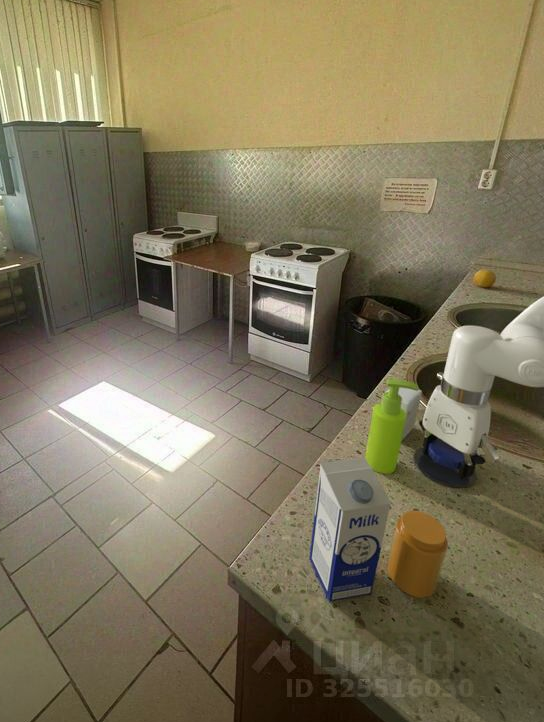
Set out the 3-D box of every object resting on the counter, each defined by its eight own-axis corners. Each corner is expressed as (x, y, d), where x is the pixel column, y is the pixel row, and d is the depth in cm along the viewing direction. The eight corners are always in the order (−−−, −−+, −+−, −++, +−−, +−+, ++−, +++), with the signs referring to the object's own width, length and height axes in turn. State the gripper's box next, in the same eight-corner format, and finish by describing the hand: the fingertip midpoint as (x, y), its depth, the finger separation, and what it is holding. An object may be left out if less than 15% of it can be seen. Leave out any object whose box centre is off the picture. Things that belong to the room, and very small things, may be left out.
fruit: (475, 282, 190) (479, 266, 187) (495, 286, 184) (500, 270, 181) (469, 287, 185) (473, 270, 182) (489, 290, 179) (494, 274, 176)
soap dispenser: (403, 477, 79) (421, 393, 72) (366, 470, 81) (380, 387, 74) (398, 457, 84) (415, 376, 77) (363, 450, 87) (377, 371, 79)
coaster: (457, 450, 86) (458, 447, 86) (488, 490, 76) (489, 487, 76) (404, 447, 87) (405, 445, 87) (427, 486, 77) (428, 484, 77)
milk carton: (348, 551, 65) (365, 455, 58) (372, 593, 59) (394, 491, 52) (308, 558, 64) (319, 461, 57) (328, 601, 58) (343, 499, 51)
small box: (390, 417, 97) (397, 380, 93) (414, 428, 93) (423, 390, 89) (375, 431, 92) (381, 393, 89) (399, 443, 88) (408, 404, 85)
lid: (437, 468, 78) (439, 461, 77) (421, 444, 84) (423, 437, 83) (475, 470, 77) (477, 463, 76) (456, 445, 83) (458, 438, 83)
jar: (423, 557, 64) (436, 509, 60) (444, 600, 58) (459, 549, 54) (381, 553, 65) (391, 506, 61) (396, 595, 58) (408, 545, 55)
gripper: (409, 373, 81) (396, 443, 87) (502, 421, 66) (477, 501, 72) (434, 365, 84) (419, 433, 90) (529, 409, 69) (503, 487, 75)
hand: (445, 463), depth 81 cm, fingers closed on lid, 6 cm apart
